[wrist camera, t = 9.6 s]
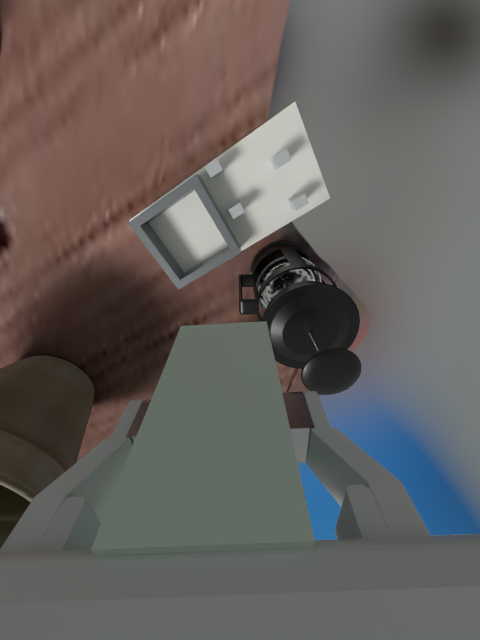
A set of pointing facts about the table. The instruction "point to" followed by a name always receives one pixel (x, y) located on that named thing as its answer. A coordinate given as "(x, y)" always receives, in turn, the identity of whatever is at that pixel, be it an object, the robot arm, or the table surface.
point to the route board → (234, 200)
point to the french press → (304, 318)
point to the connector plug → (211, 454)
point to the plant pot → (38, 429)
